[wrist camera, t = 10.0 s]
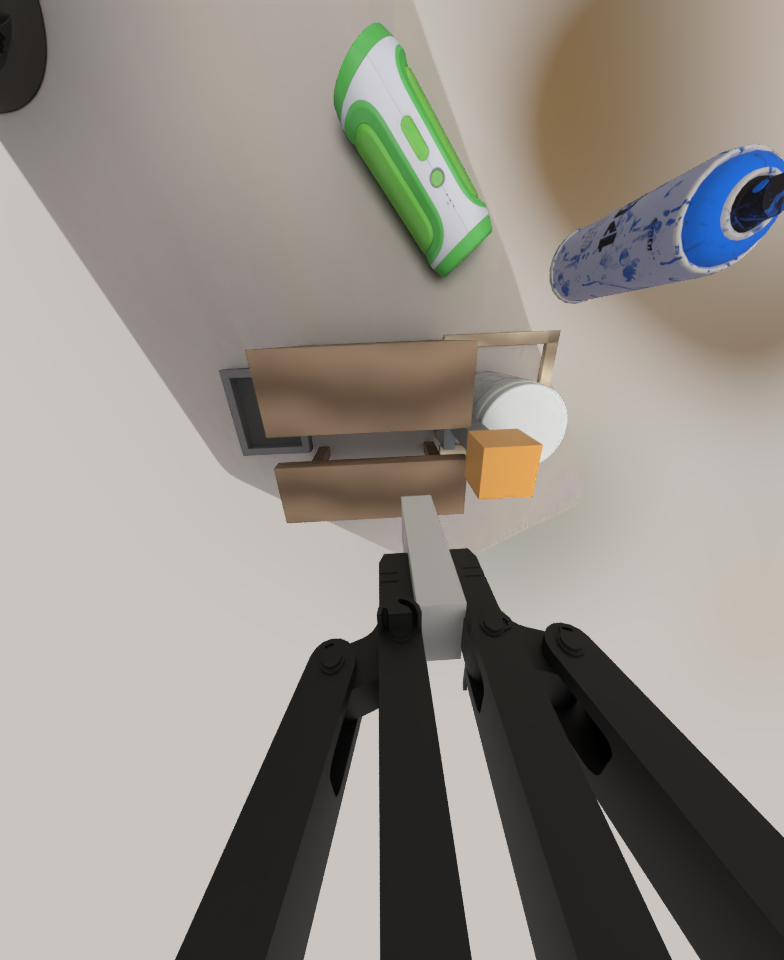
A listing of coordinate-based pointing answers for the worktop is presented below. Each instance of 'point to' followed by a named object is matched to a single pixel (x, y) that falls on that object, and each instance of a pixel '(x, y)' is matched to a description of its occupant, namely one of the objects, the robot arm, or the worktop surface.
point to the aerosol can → (675, 228)
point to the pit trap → (255, 418)
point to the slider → (496, 459)
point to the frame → (515, 338)
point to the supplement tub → (520, 408)
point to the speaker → (408, 150)
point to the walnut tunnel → (366, 422)
